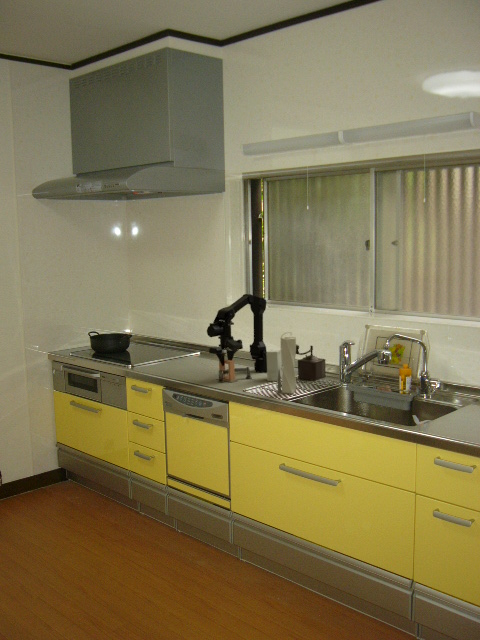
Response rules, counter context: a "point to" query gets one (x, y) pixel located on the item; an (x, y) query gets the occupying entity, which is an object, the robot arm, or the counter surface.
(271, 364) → the skincare box
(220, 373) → the gray arch
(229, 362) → the orange rectangular frame
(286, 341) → the skyscraper
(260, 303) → the robot arm
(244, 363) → the counter surface
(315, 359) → the brown coffee grinder
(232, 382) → the pad
